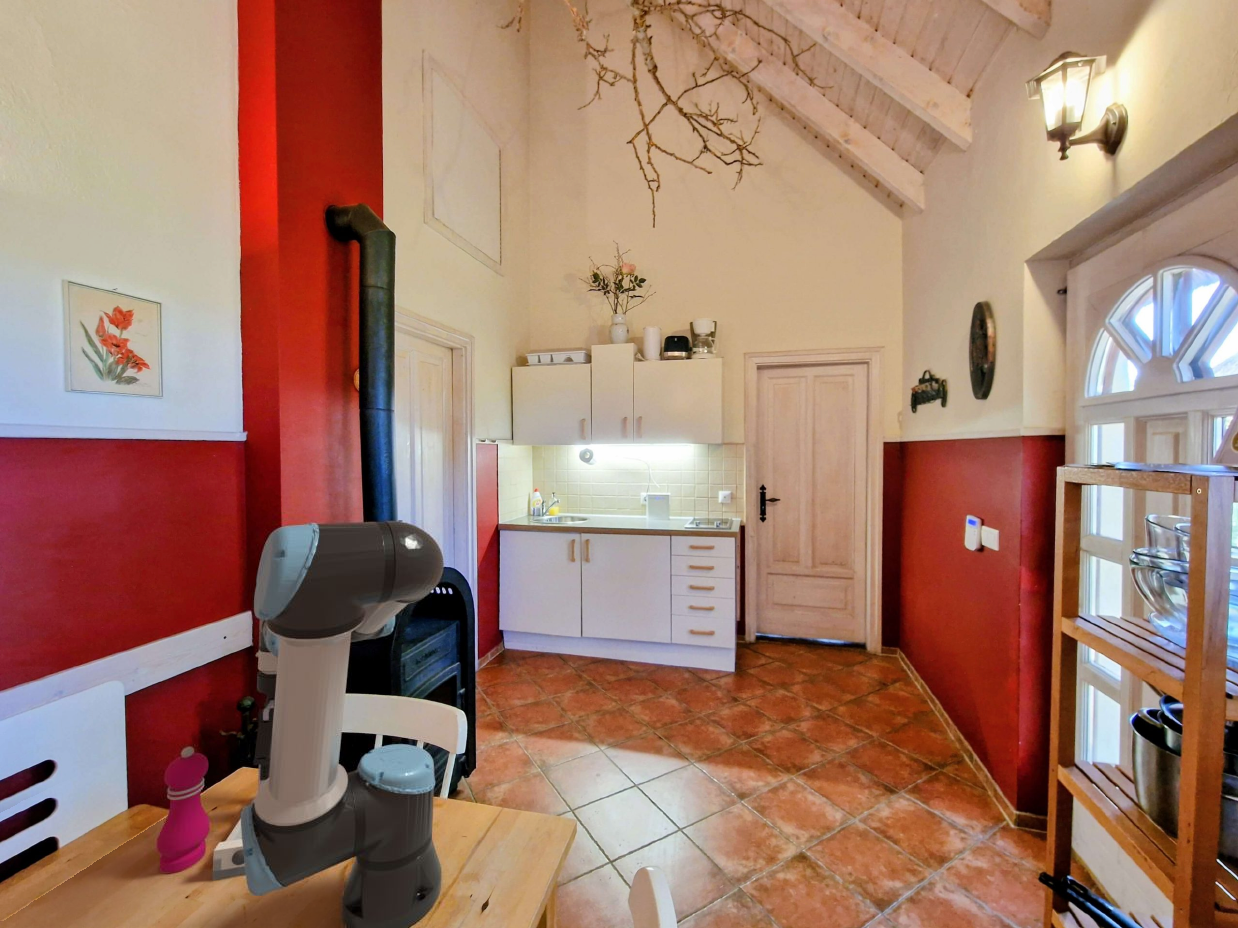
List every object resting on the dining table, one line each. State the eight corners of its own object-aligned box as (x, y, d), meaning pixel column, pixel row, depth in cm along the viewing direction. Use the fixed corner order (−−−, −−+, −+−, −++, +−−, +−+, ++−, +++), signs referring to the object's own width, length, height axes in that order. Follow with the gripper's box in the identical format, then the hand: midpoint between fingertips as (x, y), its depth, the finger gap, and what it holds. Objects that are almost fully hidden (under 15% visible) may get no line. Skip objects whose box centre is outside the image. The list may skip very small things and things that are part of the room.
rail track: (265, 872, 87) (267, 843, 87) (211, 881, 85) (212, 851, 85) (307, 791, 109) (308, 768, 109) (265, 797, 107) (265, 773, 107)
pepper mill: (177, 879, 85) (182, 761, 85) (144, 871, 86) (149, 755, 87) (219, 848, 92) (223, 739, 93) (187, 841, 94) (192, 734, 94)
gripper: (278, 650, 111) (274, 752, 111) (234, 691, 90) (229, 817, 90) (316, 647, 113) (313, 748, 113) (281, 687, 92) (276, 810, 92)
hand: (275, 778), depth 101 cm, fingers open, 9 cm apart
